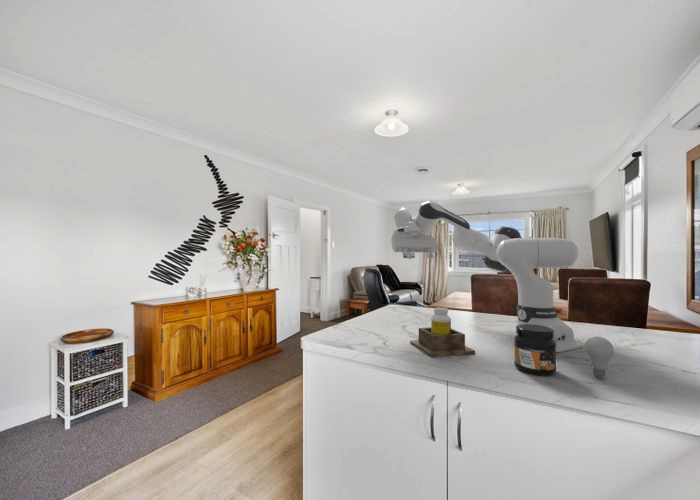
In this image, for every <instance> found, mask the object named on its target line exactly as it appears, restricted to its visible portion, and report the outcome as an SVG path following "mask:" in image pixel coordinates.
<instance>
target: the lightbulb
mask: <svg viewBox="0 0 700 500" xmlns="http://www.w3.org/2000/svg"><path fill="white" fill-rule="evenodd" d="M584 349H585V351H586V354H587V356H588V357H589V359H590V363H591V367H592V373H593V375H594V376H595V377H596V378H597V379H603V378H605V377H606V370H607V367H608V364H609V361H610V360H611V359H612V357H613V356H614V352H615V349H614V345H613V344H612V342H611V341H609V340H608V339H607V338H604V337H601V336H592V337H589V338H588V339H587V340H586V341H585V343H584Z"/></svg>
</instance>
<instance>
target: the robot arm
mask: <svg viewBox="0 0 700 500" xmlns="http://www.w3.org/2000/svg"><path fill="white" fill-rule="evenodd" d="M393 219H394V224H395V227H396V229H394V231H393V233H392V235H391V238H390V239H391V240H390V241H391V247H392V250H393V252H394V253H402V254H403V255H404V256H406V258H407V259H408V260H410V259H411V260H412V258H413V254H412V253H427V258H428V260H430V259H431V260H433V258H434V253H437V252H438V250H439V248H440V245H439V243H438V242H437V240H436V239H435V238H434V236H431V235H430V233H431V232H432V231H433V228H434V226H436V224H437V222H439V221H444V222H446V223H448V224H449V225H452V226H453V230H452V235H451V236H452V237H451V238H452V239H451V240H452V243H453V245H454V247H455V248H457V249H458V250H461V251H464V252H468V253H472V254H477V255H483V256H484V257H482V258H481V260H483V262H484V265H485V266H486V268H488V269H489V270H491V271H492V272H495V273H505V272H508V270H509V272H510V273H511V274H512V276H513V277H514V280H515V282H516V287H517V296H518V297H517V299H518V301H517V302H518V303H517V305H516V314H517V321H516V326H517V325H521V324H531V325H540V326H545V327H549V328H552V329H553V330H554V338H553V339H554V340H555V341H556V343H557V346H556V353H562V352H567V351H571V350H575V349H580V348H581V349H582V348H583V344H582V343H581V342H579V341H577V340H575V336H574V335H575V334H574V331H573V329H572V328H571V327H570V326H569V325H567V323H565V322H564V321H562V319H560V318H559V315H562V314H563V313H564V308H561V307H555V306H554V287H553V284H552V283H551V282H550V281H549V280H547V279H545V278H543V277H541V276H538V275H537V274H536V273H535V271H534V269H561V268H568V267H571V266H573V265H574V264H575V263H576V262H577V260H578V258H579V249H578V246H577V244H576V243H575V242H574V241H573V240H571V239H567V238H559V237H522V235H521V233H520V232H519V230H518V229H516V228H514V227H512V226H509V225H503V226H502V225H500V226H498V227H497V228H496V229H495V232H494V235H493V237H492V239H491V237H490V236H489V235H487V234H484V233H482V232H480V231H478V230H475V229H472V228H471V225H470V223H469V222H468V221H467V220H466V219H464V218H463V217H461V216H459V215H457V214H455V213H454V212H451V211H449V210H448V209H446V208H444V207H443V206H441V205H440V204H439V203H437V202H435V201H432V200H430V201H425V202H423V203H421V205H420V207H419V209H418V212H417V213H416V215H414V214H412V212H411V211H410V210H409V209H408V208H407V207H401V208H400V209H398V210H397V211H396V212H395V214H394V216H393ZM558 314H559V315H558ZM516 334H517V333H516V332H515V334H514V336H515V335H516ZM512 341H513V343H514V339H513V340H512Z"/></svg>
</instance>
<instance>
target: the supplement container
mask: <svg viewBox="0 0 700 500" xmlns="http://www.w3.org/2000/svg"><path fill="white" fill-rule="evenodd" d="M515 333H517V334H516V335H515V334H514V337H513V340H514V342H513V343H514V344H513V345H514V346H513V347H514V348H513V349H514V350H513V351H514V354H513V355H514V357H513V359H514V360H513V364H514V366H515V368H517V369H518V370H520V371H521V372H523V373H526V374H530V375H535V376H545V377H546V376H552V375H554V374H556V373H557V352H556V346H557V343H556V341H555V340H554V339H553V338H554V330H553V329H552V328H549V327H545V326H540V325H531V324H521V325H517V324H516V326H515Z"/></svg>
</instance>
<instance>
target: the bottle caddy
mask: <svg viewBox="0 0 700 500" xmlns="http://www.w3.org/2000/svg"><path fill="white" fill-rule="evenodd" d="M409 343H410V345H412V346H414V347H415V348H416V349H418V350H419V351H421V352H422V353H424V354H426V355H427V356H429V357H430V358H431V359H432V358H442V357H452V356H453V357H454V356H467V355H476V350H475V349H473V348H471V347H468V346H466V334H465V333H464V332H461V331H458V330H456V329H454V328H452V327H451V334H446V335H434V334H432V333H431V327H430V326H428V327H418V339H414V340H409Z"/></svg>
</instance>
